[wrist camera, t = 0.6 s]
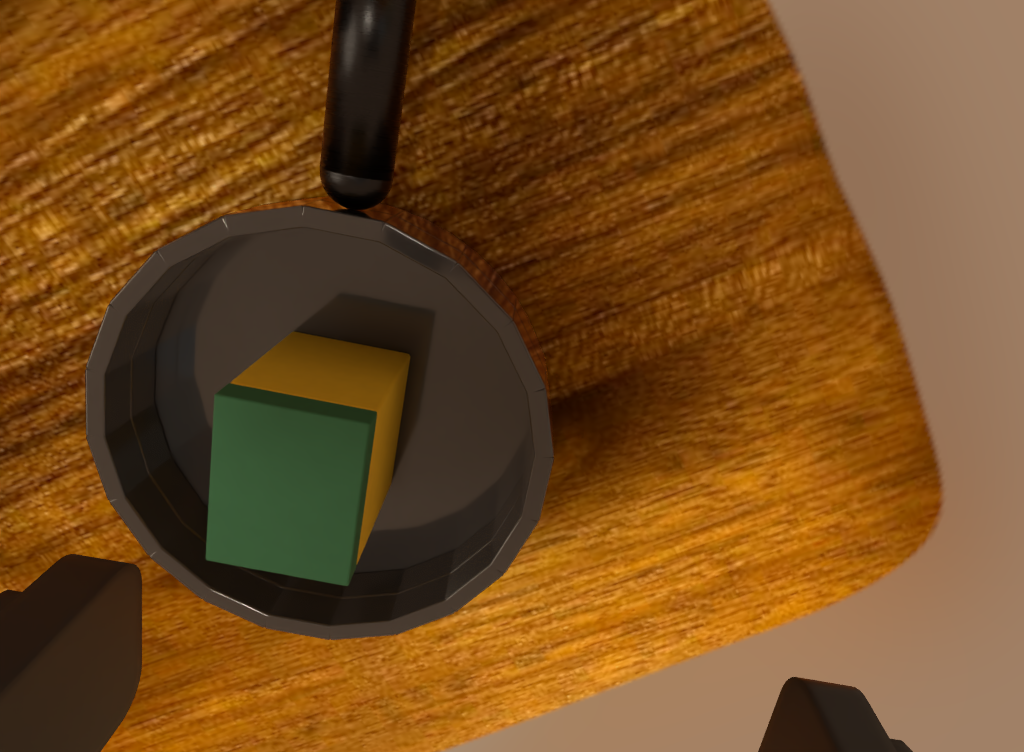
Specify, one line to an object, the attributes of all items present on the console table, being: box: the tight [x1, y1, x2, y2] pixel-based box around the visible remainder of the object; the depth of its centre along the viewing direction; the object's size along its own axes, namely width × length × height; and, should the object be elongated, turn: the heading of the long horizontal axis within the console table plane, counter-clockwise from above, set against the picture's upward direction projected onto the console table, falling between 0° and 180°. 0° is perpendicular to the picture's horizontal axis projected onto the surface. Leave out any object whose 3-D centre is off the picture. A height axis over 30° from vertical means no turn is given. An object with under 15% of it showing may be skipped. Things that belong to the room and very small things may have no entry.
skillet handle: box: [320, 0, 416, 210], centre depth 18 cm, size 10×2×2 cm, turn 169°
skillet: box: [85, 196, 554, 640], centre depth 23 cm, size 14×14×4 cm
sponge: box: [206, 332, 410, 586], centre depth 21 cm, size 5×4×6 cm
